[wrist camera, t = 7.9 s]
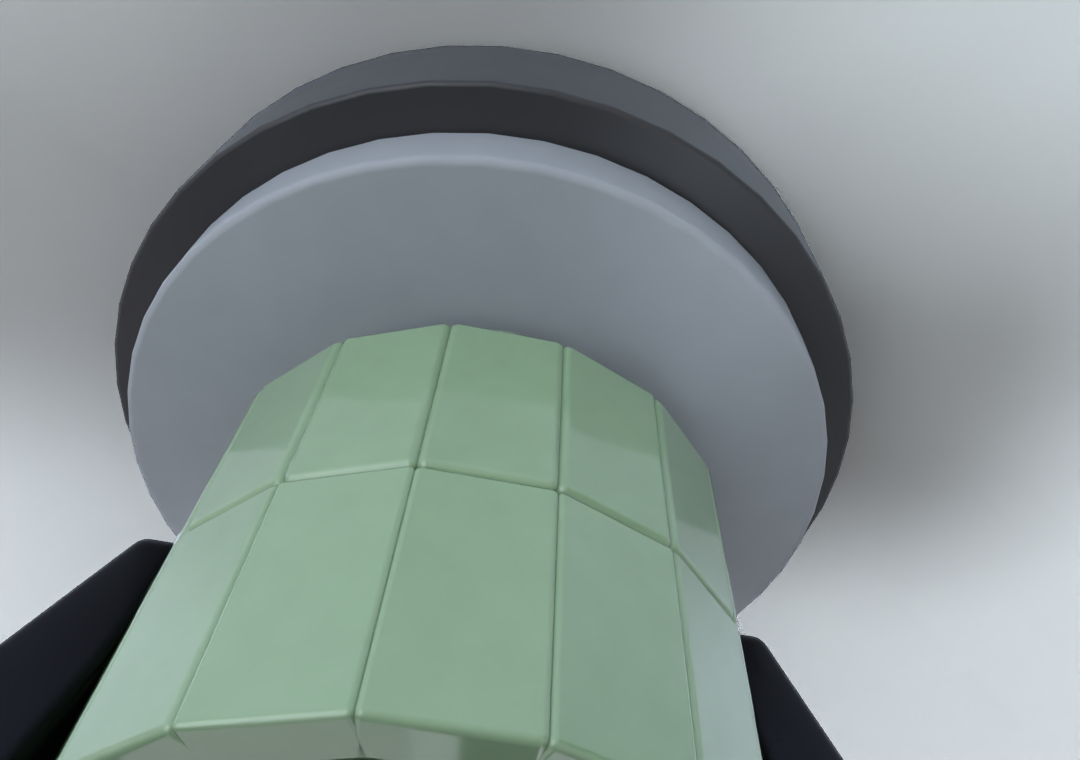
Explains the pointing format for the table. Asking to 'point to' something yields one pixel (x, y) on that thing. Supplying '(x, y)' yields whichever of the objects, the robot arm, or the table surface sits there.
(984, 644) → the table surface
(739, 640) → the cup
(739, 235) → the scale
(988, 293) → the table surface
